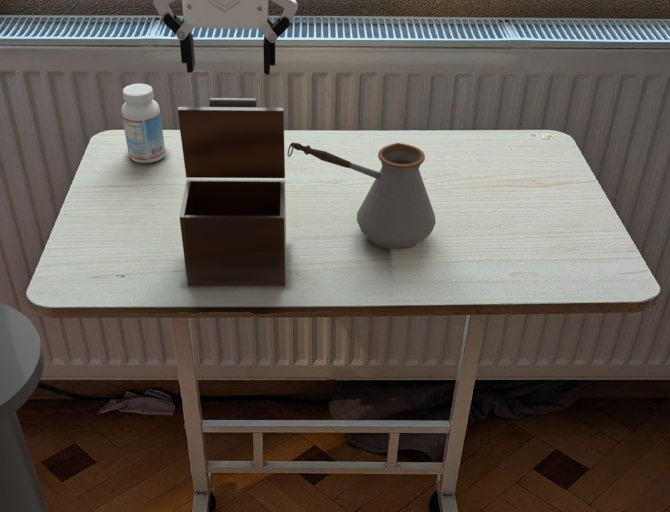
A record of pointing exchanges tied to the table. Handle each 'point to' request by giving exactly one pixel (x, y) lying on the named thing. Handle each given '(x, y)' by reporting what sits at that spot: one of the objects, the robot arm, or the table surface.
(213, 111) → the lid
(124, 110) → the pill bottle
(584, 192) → the table surface
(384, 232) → the coffee pot
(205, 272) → the chest
